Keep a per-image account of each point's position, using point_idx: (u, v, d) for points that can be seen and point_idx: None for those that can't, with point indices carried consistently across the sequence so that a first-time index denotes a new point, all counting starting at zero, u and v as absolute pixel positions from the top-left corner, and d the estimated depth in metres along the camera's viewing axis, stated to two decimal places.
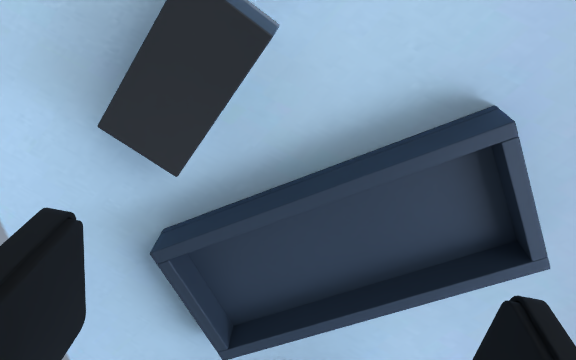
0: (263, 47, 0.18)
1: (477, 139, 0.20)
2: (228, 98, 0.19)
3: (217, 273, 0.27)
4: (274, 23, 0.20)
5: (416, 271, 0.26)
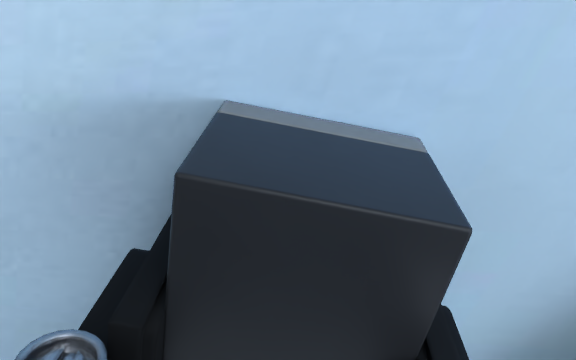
0: (455, 263, 0.06)
1: None
2: None
3: None
4: (415, 147, 0.09)
5: None
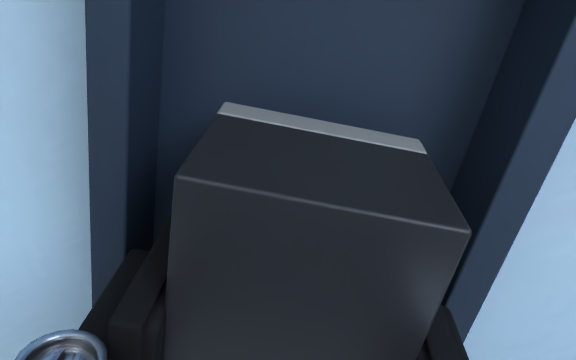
0: (454, 265, 0.06)
1: None
2: None
3: None
4: (415, 149, 0.09)
5: (461, 165, 0.10)
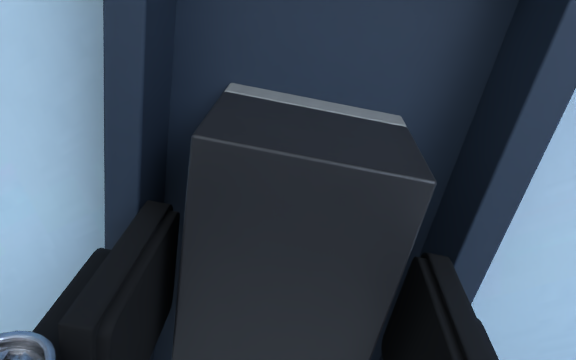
0: (423, 211, 0.08)
1: None
2: (381, 324, 0.09)
3: None
4: (396, 123, 0.10)
5: (458, 158, 0.11)
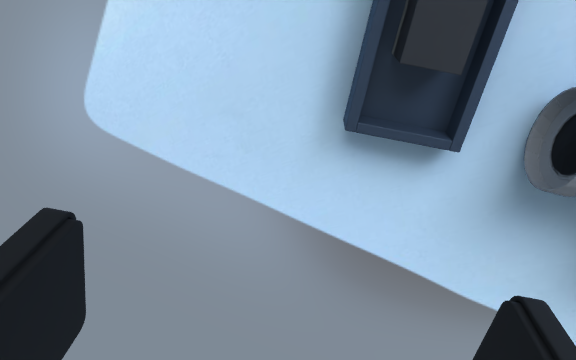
0: None
1: None
2: None
3: (397, 109, 0.34)
4: None
5: None
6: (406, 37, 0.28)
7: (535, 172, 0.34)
